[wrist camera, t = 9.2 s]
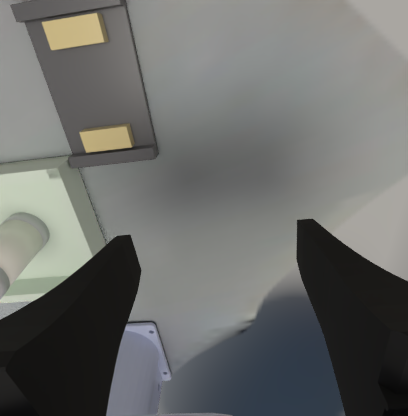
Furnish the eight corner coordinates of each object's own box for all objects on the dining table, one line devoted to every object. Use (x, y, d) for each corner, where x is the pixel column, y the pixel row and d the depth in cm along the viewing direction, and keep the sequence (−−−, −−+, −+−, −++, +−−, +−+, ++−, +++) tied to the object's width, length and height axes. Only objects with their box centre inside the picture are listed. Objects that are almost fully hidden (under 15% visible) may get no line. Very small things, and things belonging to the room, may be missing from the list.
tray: (117, 275, 27) (108, 295, 25) (0, 284, 29) (-18, 304, 26) (73, 154, 22) (57, 168, 20) (-71, 172, 23) (-101, 186, 21)
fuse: (55, 246, 25) (9, 306, 20) (16, 248, 26) (-40, 308, 20) (40, 210, 24) (-15, 265, 18) (-2, 213, 24) (-69, 268, 18)
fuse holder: (158, 153, 21) (155, 159, 20) (78, 162, 22) (71, 168, 21) (122, -12, 17) (116, -15, 16) (22, 6, 17) (10, 4, 16)
